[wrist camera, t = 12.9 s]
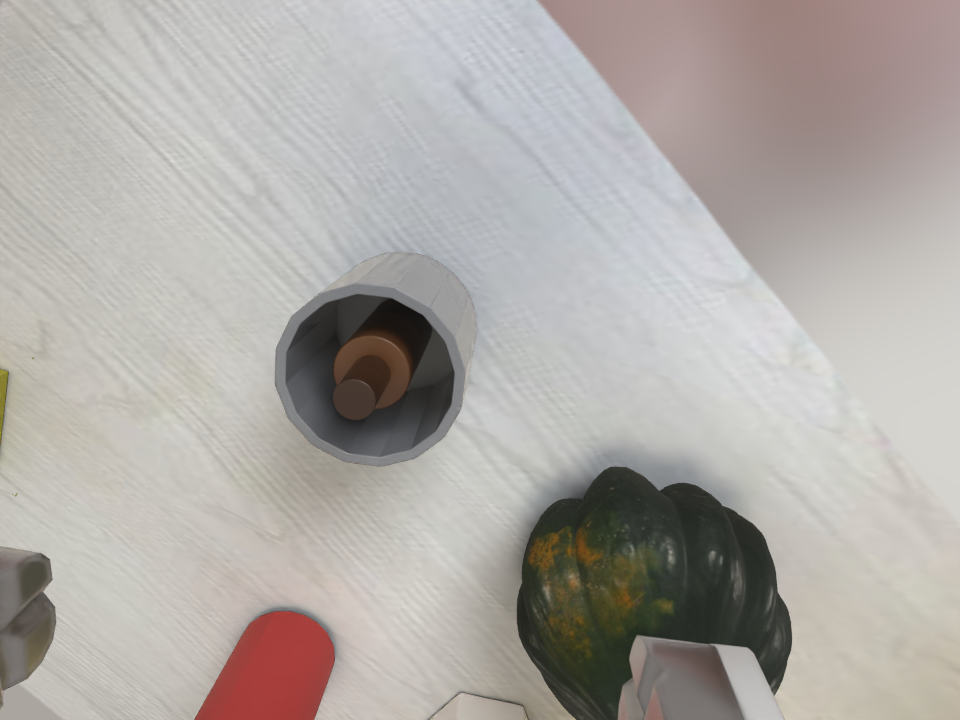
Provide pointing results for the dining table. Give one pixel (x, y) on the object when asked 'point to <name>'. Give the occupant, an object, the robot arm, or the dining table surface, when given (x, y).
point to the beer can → (273, 671)
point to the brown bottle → (379, 360)
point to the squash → (643, 586)
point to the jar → (479, 709)
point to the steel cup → (331, 325)
